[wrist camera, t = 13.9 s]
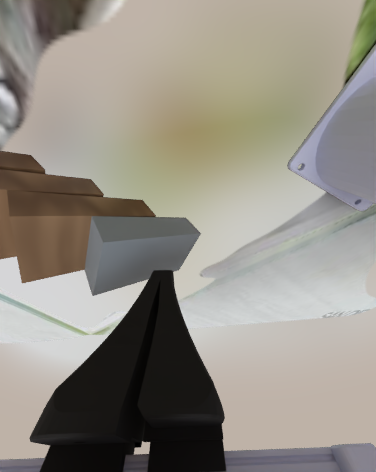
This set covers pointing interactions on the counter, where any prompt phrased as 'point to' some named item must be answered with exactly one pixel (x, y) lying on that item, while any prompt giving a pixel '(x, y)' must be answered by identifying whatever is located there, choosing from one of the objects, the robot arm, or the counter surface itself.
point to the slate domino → (135, 249)
